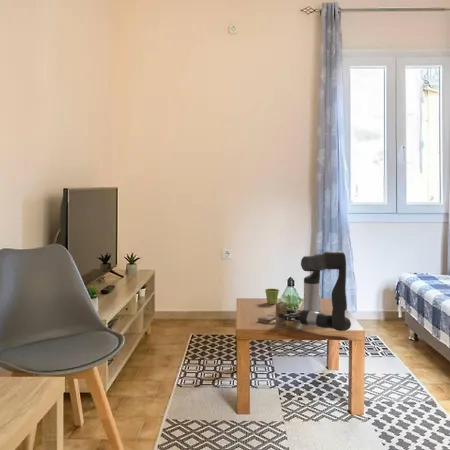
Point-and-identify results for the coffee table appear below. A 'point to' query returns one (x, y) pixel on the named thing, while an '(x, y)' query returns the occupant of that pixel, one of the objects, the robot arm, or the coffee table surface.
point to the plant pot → (271, 295)
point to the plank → (280, 309)
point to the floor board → (268, 318)
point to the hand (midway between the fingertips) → (283, 313)
